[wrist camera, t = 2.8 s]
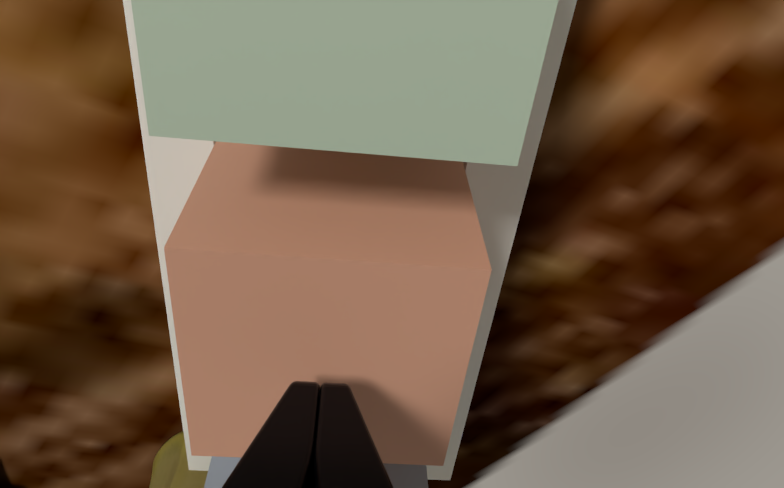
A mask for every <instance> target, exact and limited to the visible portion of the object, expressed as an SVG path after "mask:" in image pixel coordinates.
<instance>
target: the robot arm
mask: <svg viewBox="0 0 784 488" xmlns="http://www.w3.org/2000/svg"><path fill="white" fill-rule="evenodd" d="M222 488H393V485H392V483H391V481H390V478H389V476H388V474H387V471H386V469H385V467H384V464H383V462H382V460H381V457H380V455H379V453H378V450H377V448H376V446H375V443H374V441H373V439H372V436H371V434H370V432H369V429H368V427H367V425H366V423H365V420H364V418H363V416H362V413H361V411H360V409H359V406H358V404H357V402H356V399H355V397H354V395H353V392H352V390H351V388H350V387H349V385H348V384H345V383H328V382H326V383H323V384H322V385H321V387H320V385H319V384H318V383H317V382H308V381H294V382H292V383H291V384H290V385H289V387H288V388H287V390H286V391H285V393H284V394H283V396H282V397H281V399H280V400H279V402H278V403H277V405H276V406H275V408H274V409H273V411H272V412H271V414H270V415H269V417H268V418H267V420H266V421H265V423H264V424H263V426H262V427H261V429H260V430H259V432H258V433H257V435H256V436H255V438H254V439H253V441H252V442H251V444H250V445H249V447H248V449H247V450H246V452H245V453H244V455H243V456H242V458H241V459H240V461H239V462H238V464H237V465H236V467H235V468H234V470H233V471H232V473H231V474H230V476H229V477H228V479H227V480H226V482H225V483H224V485H223V486H222Z"/></svg>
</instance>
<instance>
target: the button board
mask: <svg viewBox="0 0 784 488" xmlns="http://www.w3.org/2000/svg"><path fill="white" fill-rule="evenodd" d="M576 2H577V0H558V4H557V8H556V12H555V16H554V20H553V24H552V28H551V33H550V37H549V41H548V45H547V49H546V53H545V57H544V61H543V65H542V69H541V73H540V77H539V81H538V85H537V89H536V93H535V97H534V101H533V105H532V109H531V113H530V117H529V121H528V125H527V129H526V134H525V138H524V142H523V146H522V150H521V154H520V158H519V162H518V166H508V165H496V164H484V163H472V162H463V164H464V168H465V172H466V176H467V179H468V183H469V187H470V191H471V194H472V198H473V202H474V206H475V209H476V213H477V217H478V221H479V224H480V228H481V232H482V235H483V239H484V243H485V247H486V250H487V254H488V258H489V262H490V265H491V269H492V271H491V275H490V279H489V283H488V287H487V291H486V295H485V299H484V303H483V307H482V311H481V315H480V319H479V323H478V327H477V331H476V335H475V340H474V344H473V348H472V352H471V356H470V360H469V364H468V368H467V372H466V376H465V380H464V384H463V388H462V392H461V396H460V400H459V404H458V408H457V412H456V416H455V420H454V424H453V428H452V432H451V436H450V441H449V445H448V449H447V453H446V457H445V461H444V465H443V466H434V465H426V467H427V479H428V480H450V479H451V476H452V472H453V468H454V464H455V460H456V457H457V453H458V449H459V445H460V441H461V438H462V434H463V430H464V426H465V423H466V419H467V415H468V411H469V407H470V404H471V400H472V396H473V392H474V388H475V385H476V381H477V377H478V373H479V370H480V366H481V362H482V358H483V354H484V351H485V347H486V343H487V339H488V335H489V332H490V328H491V324H492V320H493V317H494V313H495V309H496V305H497V301H498V298H499V294H500V290H501V286H502V282H503V279H504V275H505V271H506V267H507V263H508V260H509V256H510V252H511V248H512V245H513V241H514V237H515V233H516V229H517V226H518V222H519V218H520V214H521V210H522V207H523V203H524V199H525V195H526V192H527V188H528V184H529V180H530V176H531V173H532V169H533V165H534V161H535V157H536V154H537V150H538V146H539V142H540V138H541V135H542V131H543V127H544V123H545V120H546V116H547V112H548V108H549V104H550V101H551V97H552V93H553V89H554V85H555V82H556V78H557V74H558V70H559V67H560V63H561V59H562V55H563V51H564V48H565V44H566V40H567V36H568V32H569V29H570V25H571V21H572V17H573V14H574V10H575V6H576ZM123 4H124V11H125V19H126V26H127V33H128V40H129V47H130V54H131V61H132V69H133V76H134V83H135V90H136V97H137V104H138V111H139V118H140V126H141V133H142V140H143V147H144V154H145V161H146V168H147V176H148V183H149V190H150V197H151V204H152V211H153V218H154V225H155V233H156V240H157V247H158V254H159V261H160V268H161V275H162V282H163V290H164V297H165V304H166V311H167V318H168V325H169V332H170V340H171V347H172V354H173V361H174V368H175V375H176V382H177V389H178V397H179V404H180V411H181V418H182V425H183V432H184V439H185V447H186V454H187V461H188V468H189V470H199V471H208V470H209V466H210V462H211V458H212V456H192V455H191V448H190V440H189V433H188V425H187V418H186V410H185V403H184V395H183V388H182V380H181V373H180V365H179V357H178V350H177V342H176V335H175V327H174V320H173V312H172V305H171V297H170V290H169V282H168V275H167V267H166V260H165V252H164V246H165V244H166V242H167V240H168V238H169V236H170V234H171V232H172V230H173V228H174V226H175V224H176V222H177V220H178V218H179V216H180V214H181V212H182V210H183V208H184V206H185V204H186V202H187V200H188V198H189V196H190V193H191V191H192V189H193V187H194V185H195V183H196V181H197V179H198V177H199V175H200V173H201V171H202V169H203V167H204V165H205V163H206V161H207V159H208V157H209V155H210V153H211V151H212V149H213V147H214V145H215V143H216V141H205V140H193V139H181V138H169V137H157V136H149V132H148V124H147V117H146V109H145V102H144V94H143V87H142V79H141V72H140V64H139V57H138V49H137V42H136V34H135V27H134V19H133V12H132V4H131V0H123Z"/></svg>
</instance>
